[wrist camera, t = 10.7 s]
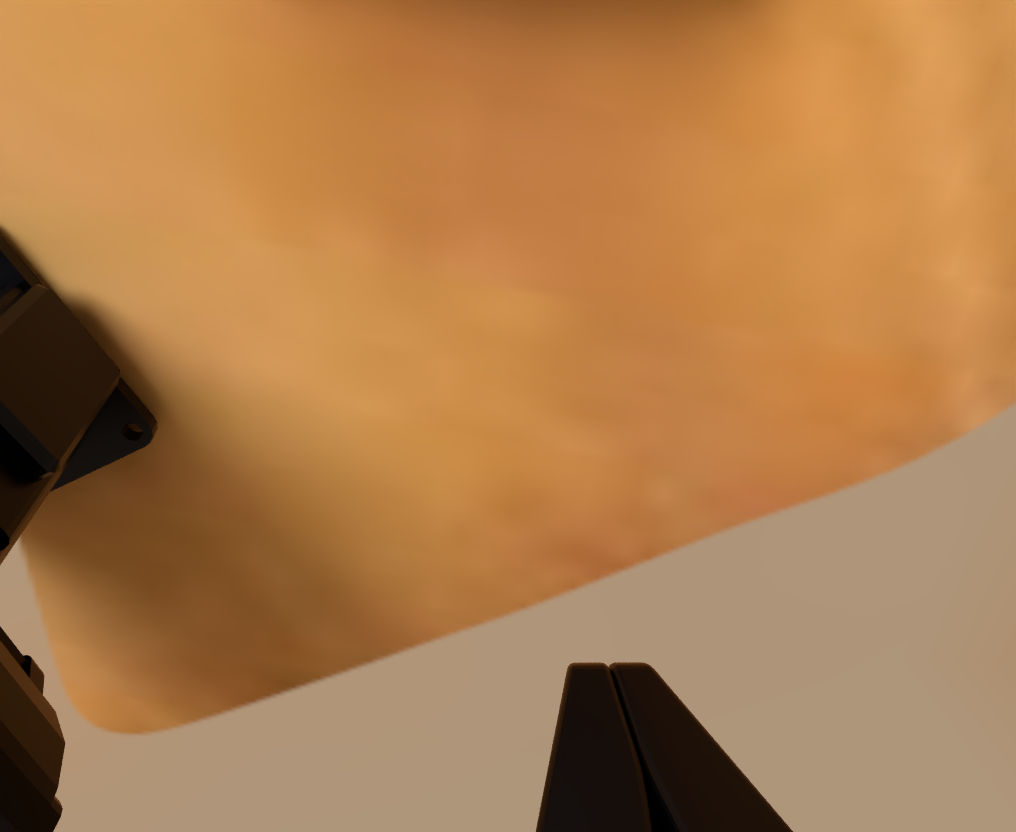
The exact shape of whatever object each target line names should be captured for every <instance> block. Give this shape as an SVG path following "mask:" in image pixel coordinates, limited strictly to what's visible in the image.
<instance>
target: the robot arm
mask: <svg viewBox="0 0 1016 832" xmlns="http://www.w3.org/2000/svg"><path fill="white" fill-rule="evenodd" d="M129 423H132V424H136V425H137V426H139V427H140V428H141V429H142V432H135V431H132V430H131V429H130V428H128V426H127V424H129ZM156 430H157V421H156V420H155V418H154V416H153V415H152V414H151V413H150V411H149V410H148V409H147V408H146V407H145V405H144V404H143V403H142V402H141V401H140V399H139V398H138V397H137V396H136V395H135V394H134V392H133V391H132V390H131V389H130V388H129V386H128V385H127V384H126V383H125V382H124V380H123V379H122V378H121V377H120V370H119V369H118V367H117V366H116V365H115V364H114V363H113V361H112V360H111V359H110V358H109V357H108V355H107V354H106V353H105V352H104V351H103V349H102V348H101V347H100V346H99V345H98V344H97V342H96V341H95V340H94V339H93V338H92V336H91V335H90V334H89V333H88V332H87V330H86V329H85V328H84V327H83V326H82V324H81V323H80V322H79V321H78V320H77V318H76V317H75V316H74V315H73V314H72V313H71V311H70V310H69V309H68V308H67V307H66V305H65V304H64V303H63V302H62V301H61V299H60V298H59V297H58V296H57V295H56V293H55V292H54V291H53V290H52V289H50V288H47V287H45V286H43V284H42V283H41V282H40V281H39V280H38V278H37V277H36V276H35V275H34V274H33V272H32V271H31V270H30V269H29V268H28V267H27V265H26V264H25V263H24V262H23V261H22V259H21V258H20V257H19V256H18V255H17V253H16V252H15V251H14V250H13V249H12V248H11V246H10V245H9V244H8V243H7V242H6V240H5V239H4V238H3V237H2V236H1V234H0V565H1V563H2V562H3V560H4V559H5V557H6V556H7V554H8V553H9V551H10V550H11V548H12V547H13V545H14V544H15V543H16V541H17V540H18V538H19V537H20V535H21V534H22V532H23V531H24V529H25V528H26V526H27V525H28V523H29V522H30V520H31V519H32V517H33V516H34V514H35V513H36V511H37V510H38V508H39V507H40V505H41V504H42V502H43V501H44V499H45V498H46V496H47V495H48V493H49V492H50V491H53V490H55V489H57V488H59V487H61V486H63V485H65V484H67V483H69V482H72V481H74V480H76V479H78V478H80V477H82V476H84V475H86V474H88V473H91V472H93V471H95V470H97V469H99V468H101V467H103V466H105V465H107V464H110V463H112V462H114V461H116V460H118V459H120V458H122V457H124V456H126V455H129V454H131V453H133V452H135V451H137V450H139V449H141V448H143V447H145V446H147V445H148V444H149V443H150V442H151V440H152V438H153V437H154V435H155V433H156ZM43 686H44V674H43V672H42V671H41V669H40V668H39V667H38V666H37V664H36V663H35V662H34V660H33V659H32V658H31V657H30V656H28V655H25V656H23V655H22V654H21V653H20V651H19V650H18V649H17V647H16V646H15V645H14V644H13V642H12V641H11V640H10V639H9V637H8V636H7V635H6V633H5V632H4V631H3V629H2V628H1V627H0V832H53V831H54V829H55V827H56V825H57V823H58V821H59V819H60V817H61V813H62V806H61V803H60V802H59V800H58V799H57V798H56V797H55V793H56V791H57V788H58V784H59V778H60V771H61V766H62V759H63V753H64V748H65V741H64V737H63V734H62V731H61V728H60V724H59V721H58V718H57V715H56V712H55V710H54V709H53V708H52V706H51V705H50V704H49V702H48V701H47V700H46V699H45V697H44V696H43ZM536 832H793V831H792V830H791V829H790V828H789V826H788V825H787V824H786V823H785V822H784V821H783V819H782V818H781V817H780V816H779V815H778V814H777V812H776V811H775V810H774V809H773V808H772V807H771V805H770V804H769V803H768V802H767V801H766V799H765V798H764V797H763V796H762V795H761V794H760V792H759V791H758V790H757V789H756V788H755V787H754V785H753V784H752V783H751V782H750V781H749V780H748V778H747V777H746V776H745V775H744V774H743V773H742V771H741V770H740V769H739V768H738V767H737V766H736V764H735V763H734V762H733V761H732V760H731V759H730V757H729V756H728V755H727V754H726V753H725V752H724V750H723V749H722V748H721V747H720V746H719V744H718V743H717V742H716V741H715V740H714V739H713V737H712V736H711V735H710V734H709V733H708V732H707V730H706V729H705V728H704V727H703V726H702V725H701V724H700V722H699V721H698V720H697V719H696V718H695V716H694V715H693V714H692V713H691V712H690V711H689V710H688V708H687V707H686V706H685V705H684V704H683V702H682V701H681V700H680V699H679V698H678V696H677V695H676V694H675V693H674V692H673V691H672V689H671V688H670V687H669V686H668V685H667V684H666V683H665V682H664V680H663V679H662V678H661V677H660V675H659V674H658V673H657V672H656V671H655V670H654V669H653V668H652V667H651V666H650V665H648V664H646V663H612V664H611V665H609V667H608V666H607V665H605V664H604V663H572V664H570V665H569V666H568V669H567V673H566V678H565V683H564V689H563V694H562V699H561V704H560V710H559V714H558V720H557V725H556V730H555V735H554V740H553V745H552V751H551V756H550V761H549V766H548V771H547V776H546V781H545V787H544V792H543V797H542V803H541V807H540V813H539V818H538V823H537V828H536Z"/></svg>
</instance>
